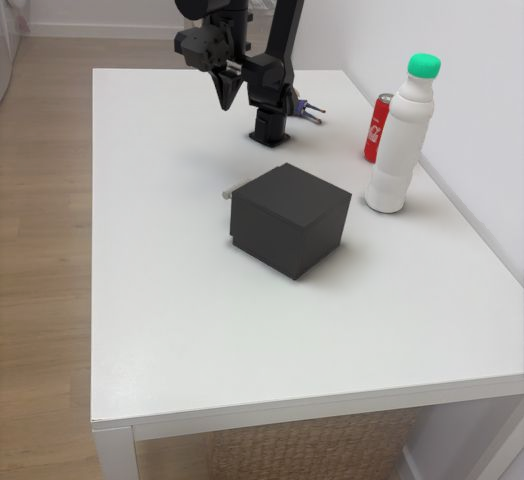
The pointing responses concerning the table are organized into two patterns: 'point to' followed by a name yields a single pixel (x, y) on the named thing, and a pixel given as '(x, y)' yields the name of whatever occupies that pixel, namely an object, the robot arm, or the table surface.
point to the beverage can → (377, 126)
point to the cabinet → (289, 219)
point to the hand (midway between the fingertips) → (225, 109)
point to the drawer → (231, 195)
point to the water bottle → (403, 135)
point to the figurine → (302, 106)
